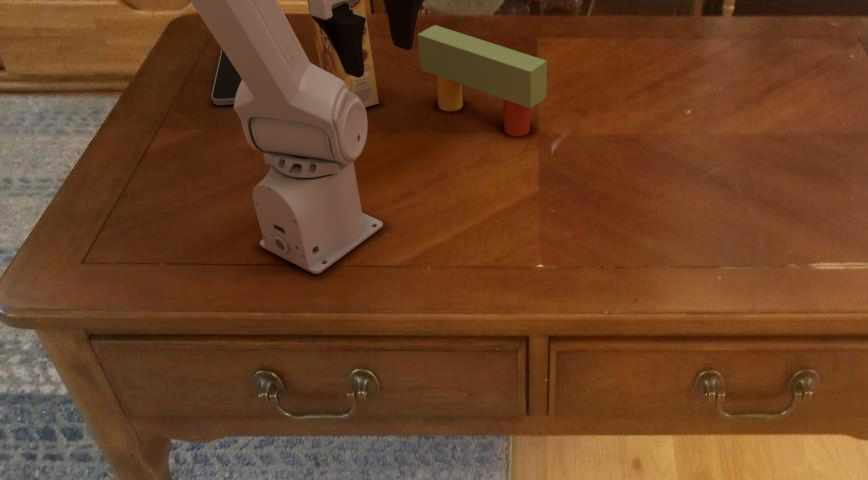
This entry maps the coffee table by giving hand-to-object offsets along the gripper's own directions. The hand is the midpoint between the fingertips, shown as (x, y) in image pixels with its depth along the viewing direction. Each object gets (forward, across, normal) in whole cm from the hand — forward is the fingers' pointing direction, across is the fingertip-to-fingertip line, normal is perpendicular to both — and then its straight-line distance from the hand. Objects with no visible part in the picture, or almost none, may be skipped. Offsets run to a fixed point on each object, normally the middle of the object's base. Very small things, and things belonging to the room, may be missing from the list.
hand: (379, 60), depth 90 cm
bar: (+6, +11, -5) cm, 13 cm away
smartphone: (+10, +2, +26) cm, 28 cm away
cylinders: (+10, +11, -5) cm, 16 cm away
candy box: (+11, +6, +12) cm, 17 cm away
